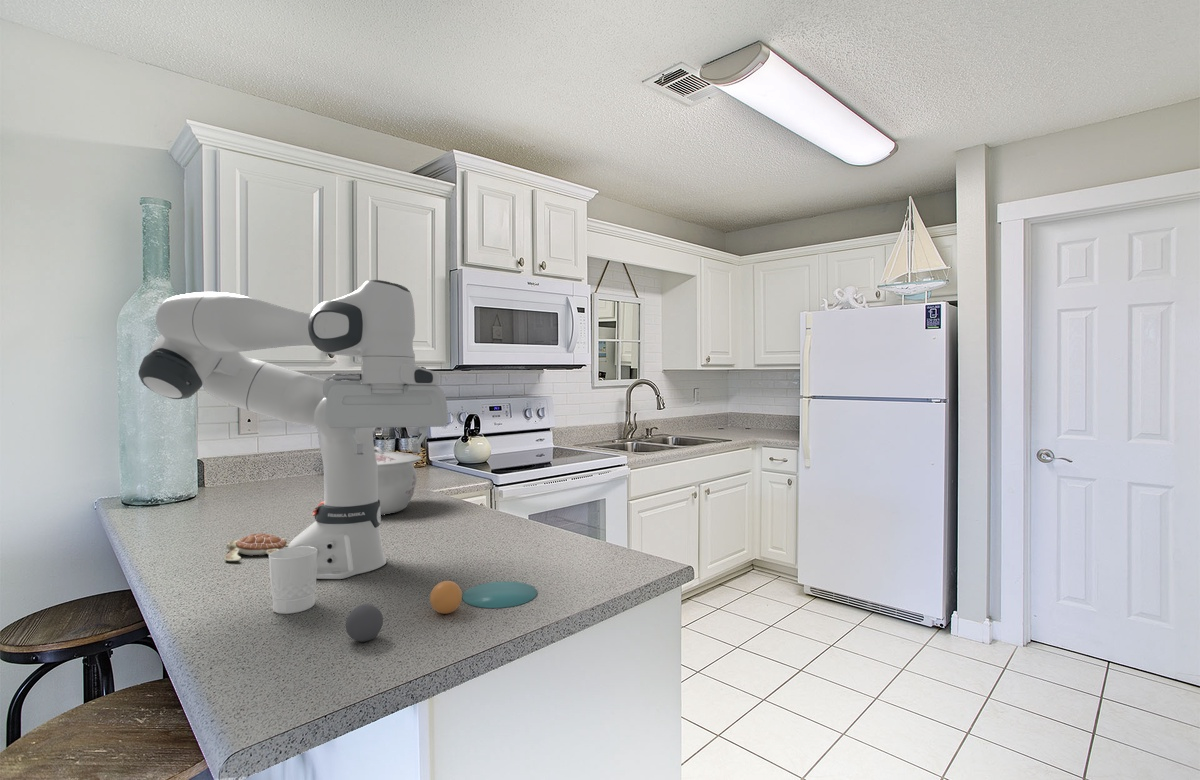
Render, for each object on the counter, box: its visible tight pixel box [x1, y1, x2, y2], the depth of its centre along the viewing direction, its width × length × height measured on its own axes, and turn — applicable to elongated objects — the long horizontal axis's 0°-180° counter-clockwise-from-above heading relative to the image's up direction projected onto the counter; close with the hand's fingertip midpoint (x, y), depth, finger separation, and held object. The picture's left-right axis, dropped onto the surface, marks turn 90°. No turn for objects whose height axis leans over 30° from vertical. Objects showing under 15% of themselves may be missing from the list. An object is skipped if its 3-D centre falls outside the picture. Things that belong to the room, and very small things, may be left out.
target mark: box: [462, 580, 538, 609], centre depth 115 cm, size 14×14×1 cm
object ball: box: [429, 580, 463, 615], centre depth 106 cm, size 6×6×6 cm
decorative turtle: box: [224, 532, 290, 562], centre depth 145 cm, size 18×17×5 cm
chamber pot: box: [374, 445, 423, 516], centre depth 190 cm, size 28×28×21 cm
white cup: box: [268, 546, 318, 615], centre depth 109 cm, size 8×8×10 cm
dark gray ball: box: [345, 603, 384, 642], centre depth 95 cm, size 6×6×6 cm
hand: (388, 453), depth 105 cm, fingers open, 8 cm apart
